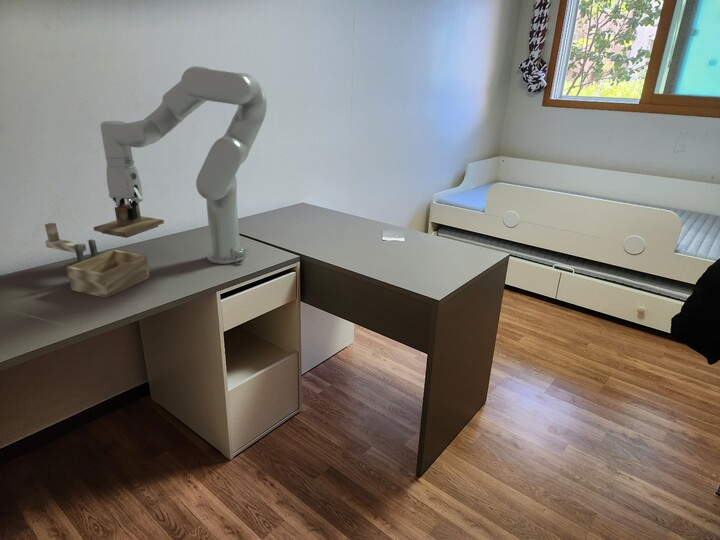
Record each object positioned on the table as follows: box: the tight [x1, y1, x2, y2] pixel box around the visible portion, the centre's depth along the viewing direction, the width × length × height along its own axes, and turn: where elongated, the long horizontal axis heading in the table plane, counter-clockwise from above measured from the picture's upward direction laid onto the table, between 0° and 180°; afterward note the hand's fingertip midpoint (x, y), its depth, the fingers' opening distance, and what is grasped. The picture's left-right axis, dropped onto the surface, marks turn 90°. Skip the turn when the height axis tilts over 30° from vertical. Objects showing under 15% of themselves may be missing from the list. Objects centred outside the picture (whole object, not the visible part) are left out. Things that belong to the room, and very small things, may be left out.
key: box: [44, 222, 87, 254], centre depth 139 cm, size 13×3×7 cm, turn 69°
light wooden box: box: [66, 239, 150, 299], centre depth 136 cm, size 15×16×12 cm
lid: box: [93, 203, 165, 239], centre depth 154 cm, size 13×16×8 cm
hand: (128, 218), depth 154 cm, fingers closed on lid, 3 cm apart
